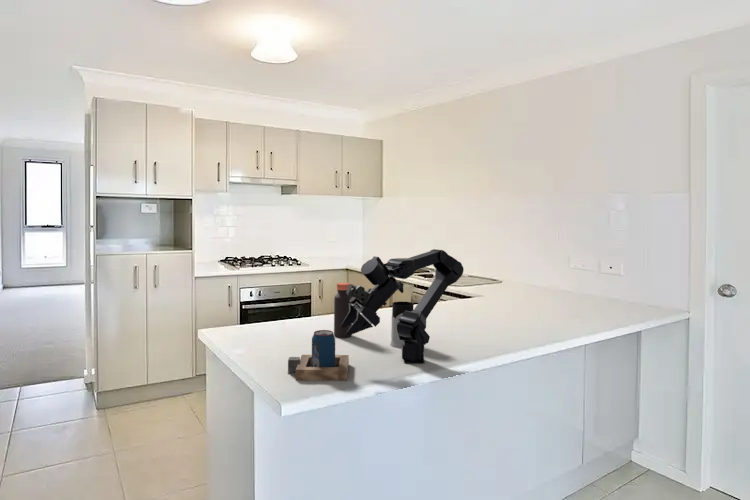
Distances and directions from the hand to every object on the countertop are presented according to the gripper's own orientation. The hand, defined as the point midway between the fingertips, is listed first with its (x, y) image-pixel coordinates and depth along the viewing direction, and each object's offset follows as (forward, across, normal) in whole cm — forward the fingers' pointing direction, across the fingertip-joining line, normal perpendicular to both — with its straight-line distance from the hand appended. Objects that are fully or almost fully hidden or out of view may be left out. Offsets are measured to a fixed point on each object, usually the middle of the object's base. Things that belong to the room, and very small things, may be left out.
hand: (344, 330), depth 151 cm
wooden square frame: (+14, 0, +3) cm, 14 cm away
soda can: (+13, 0, +4) cm, 14 cm away
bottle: (+4, -40, +14) cm, 43 cm away
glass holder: (-9, -27, +27) cm, 39 cm away
